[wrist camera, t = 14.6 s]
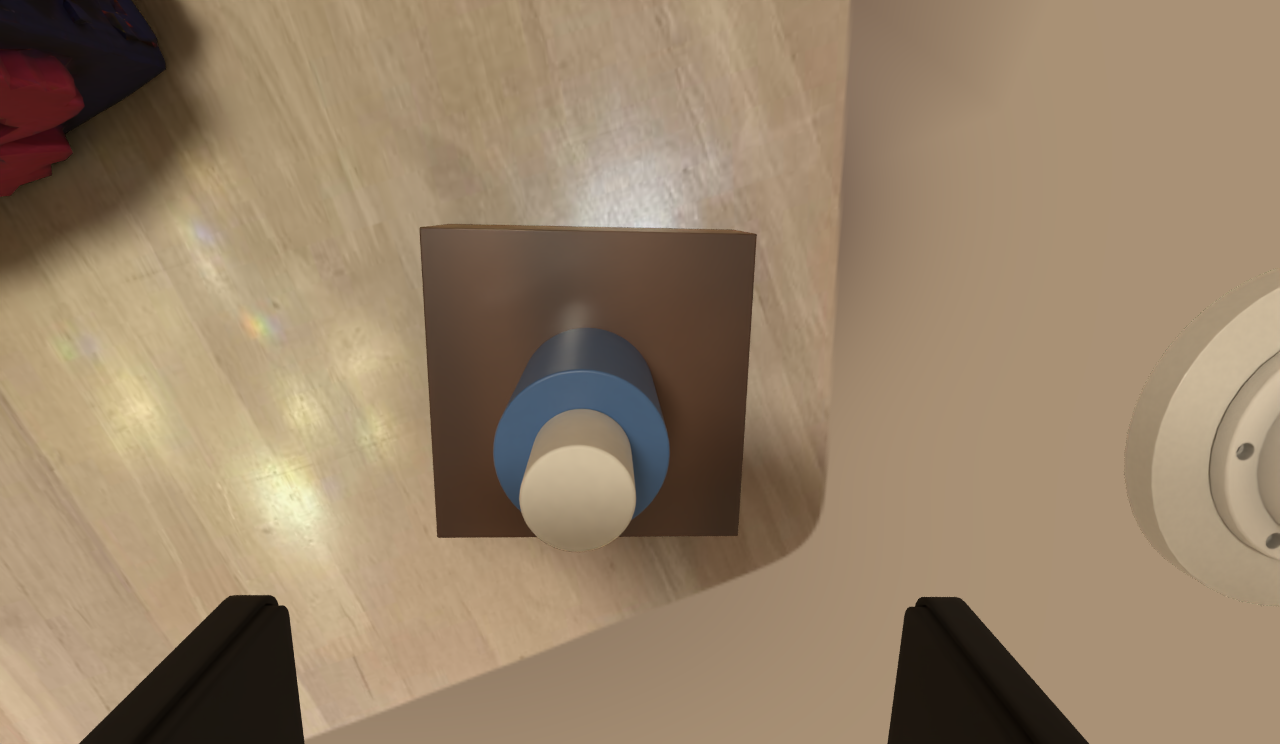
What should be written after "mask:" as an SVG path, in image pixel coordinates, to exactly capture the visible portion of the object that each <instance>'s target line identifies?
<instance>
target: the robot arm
mask: <svg viewBox="0 0 1280 744" xmlns="http://www.w3.org/2000/svg"><path fill="white" fill-rule="evenodd" d="M1210 482H1211V491H1212V496H1213V499H1214V502H1215V505H1216V507H1217V510H1218V513H1219V515H1220V516H1221V518H1222V519H1223V521H1224V522H1225V524H1226V525H1227V527H1228V529H1229V530H1230V531H1231V532H1233V533H1234V534H1235V535H1236V536H1237V537H1238V538H1239V539H1240V540H1241V541H1242V542H1244V543H1245V544H1247V545H1249V546H1251V547H1252V548H1254V549H1256V550H1258V551H1259V552H1261V553H1263V554H1265V555H1267V556H1269V557H1272V558H1274V559H1276V560H1279V561H1280V352H1278V353H1277V354H1276V355H1275V356H1273V357H1272V358H1271V359H1269V360H1268V361H1267V362H1266V363H1264V364H1263V365H1262V366H1261V367H1260V368H1259V369H1258V370H1257V371H1256V372H1255V373H1254V374H1253V375H1252V377H1251V378H1250V379H1249V380H1248V381H1247V382H1246V383H1245V384H1244V385H1243V387H1242V388H1241V389H1240V391H1239V392H1238V394H1237V395H1236V397H1235V398H1234V399H1233V401H1232V402H1231V404H1230V405H1229V407H1228V409H1227V411H1226V413H1225V415H1224V417H1223V419H1222V421H1221V423H1220V426H1219V428H1218V431H1217V434H1216V438H1215V441H1214V445H1213V448H1212V454H1211V464H1210ZM79 744H304V735H303V727H302V718H301V710H300V702H299V693H298V685H297V676H296V668H295V659H294V651H293V642H292V634H291V626H290V617H289V612H288V609H287V608H286V607H285V606H278V602H277V600H276V599H275V597H273V596H271V595H233V596H229V597H228V598H226V599H225V600H224V601H223V602H222V603H221V604H220V605H219V606H218V607H217V608H216V609H215V610H214V611H213V612H212V613H211V614H210V615H209V616H208V617H207V618H206V619H205V620H204V621H203V622H202V623H201V624H200V625H199V626H197V627H196V628H195V629H194V630H193V631H192V632H191V633H190V634H189V635H188V636H187V637H186V638H185V639H184V640H183V641H182V642H181V643H180V644H179V645H178V646H177V647H176V648H175V649H174V650H173V651H172V652H171V653H170V654H169V655H168V656H167V657H166V658H165V659H164V660H163V661H162V662H161V663H160V664H159V665H158V666H157V667H156V668H155V669H154V670H153V671H152V672H151V673H150V674H149V675H148V676H147V677H146V678H145V679H144V680H143V681H142V682H141V683H140V684H139V685H138V686H137V687H136V688H135V689H134V690H133V691H132V692H131V693H130V694H129V695H128V696H127V697H126V698H125V699H124V700H123V701H122V702H121V703H120V704H119V705H118V706H117V707H116V708H115V709H114V710H113V711H112V712H111V713H110V714H109V715H108V716H107V717H106V718H105V719H104V720H103V721H101V722H100V723H99V724H98V725H97V726H96V727H95V728H94V729H93V730H92V731H91V732H90V733H89V734H88V735H87V736H86V737H85V738H84V739H83V740H82V741H81V742H80V743H79ZM888 744H1089V743H1088V742H1087V741H1086V740H1085V739H1084V737H1083V736H1082V735H1081V734H1080V733H1079V732H1078V731H1077V729H1075V727H1074V726H1073V725H1072V724H1071V723H1070V721H1069V720H1068V719H1067V718H1066V717H1065V716H1064V715H1063V714H1062V712H1061V711H1060V710H1059V709H1058V708H1057V707H1056V705H1055V704H1054V703H1053V702H1052V701H1051V700H1050V699H1049V698H1048V696H1047V695H1046V694H1045V693H1044V692H1043V691H1042V690H1041V688H1040V687H1039V686H1038V685H1037V684H1036V683H1035V681H1034V680H1033V679H1032V678H1031V677H1030V676H1029V675H1028V674H1027V672H1026V671H1025V670H1024V669H1023V668H1022V667H1021V666H1020V665H1019V663H1018V662H1017V661H1016V660H1015V659H1014V658H1013V656H1012V655H1011V654H1010V653H1009V652H1008V651H1007V650H1006V648H1005V647H1004V646H1003V645H1002V644H1001V643H1000V642H999V640H998V639H997V638H996V637H995V636H994V635H993V634H992V632H991V631H990V630H989V629H988V628H987V627H986V626H985V624H984V623H983V622H982V621H981V620H980V619H979V618H978V616H977V615H976V614H975V613H974V612H973V611H972V610H971V609H970V607H969V606H968V605H967V604H966V603H965V602H964V601H963V600H962V599H960V598H957V597H921V598H919V599H918V601H917V602H916V605H915V607H909V608H907V610H906V612H905V616H904V624H903V631H902V639H901V646H900V654H899V661H898V669H897V676H896V684H895V692H894V700H893V707H892V714H891V722H890V729H889V737H888Z"/></svg>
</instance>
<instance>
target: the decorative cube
mask: <svg viewBox="0 0 1280 744" xmlns="http://www.w3.org/2000/svg"><path fill="white" fill-rule="evenodd" d="M165 69H166V65H165V60H164V58H163V55H162V53H161V51H160V49H159V47H158V44H157V37H156V36H155V34H154V33H153V31H152V30H151V28H150V27H149V25H148V24H147V22H146V20H145V19H144V18H143V16H142V15H141V13H140V12H139V10H138V9H137V8H136V6H135V5H134V3H133V2H132V1H131V0H0V197H2V196H11V195H12V194H13V192H14V191H15V190H16V189H17V188H18V187H19V186H20V185H23V184H26V183H29V182H32V181H35V180H38V179H41V178H45V177H48V176H51V175H52V169H51V164H52V163H56V162H60V161H64V160H66V159H67V158H68V157H69V156H70V155H71V154H72V153H73V152H72V150H71V147H70V145H69V143H68V141H67V139H66V136H65V133H67V132H69V131H70V130H72V129H74V128H76V127H77V126H79V125H81V124H82V123H84V122H86V121H87V120H89V119H90V118H92V117H94V116H95V115H97V114H99V113H100V112H102V111H103V110H105V109H107V108H109V107H111V106H112V105H114V104H116V103H118V102H119V101H121V100H122V99H124V98H126V97H127V96H129V95H130V94H132V93H133V92H135V91H136V90H138V89H139V88H140V87H142V86H143V85H145V84H146V83H147V82H149V81H150V80H152V79H153V78H154V77H156V76H157V75H158V74H160V73H161V72H162V71H164V70H165Z"/></svg>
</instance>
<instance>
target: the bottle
mask: <svg viewBox="0 0 1280 744" xmlns="http://www.w3.org/2000/svg"><path fill="white" fill-rule="evenodd" d="M493 457H494V466H495V470H496V474H497V477H498V479H499V482H500V484H501V486H502V488H503V490H504V492H505V493H506V495H507V497H508V498H509V499H510V500H511V502H512V503H513V504H514V505H515V506H516V507H517V508H518V509H519V510H520V511H521V513H522V515H523V518H524V520H525V522H526V524H527V525H528V527H529V528H530V530H531V531H532V532H533V533H534V534H535V535H536V536H537V537H538V538H539V539H541V540H542V541H543V542H545V543H546V544H548V545H550V546H552V547H554V548H557V549H560V550H564V551H569V552H586V551H591V550H595V549H598V548H601V547H603V546H605V545H607V544H609V543H610V542H612V541H613V540H615V539H616V538H617V537H618V536H619V535H620V534H621V533H622V532H623V531H624V530H625V529H626V527H627V526H628V524H629V523H630V521H631V520H632V519H634V518H635V517H636V516H637V515H639V514H640V513H641V512H642V511H644V509H645V508H646V507H647V506H648V505H649V504H650V503H651V502H652V501H653V499H654V498H655V497H656V495H657V494H658V492H659V490H660V488H661V487H662V485H663V482H664V479H665V477H666V474H667V470H668V466H669V457H670V447H669V438H668V433H667V429H666V426H665V422H664V418H663V415H662V411H661V408H660V404H659V400H658V397H657V393H656V390H655V386H654V382H653V379H652V375H651V372H650V369H649V367H648V365H647V363H646V361H645V359H644V358H643V356H642V355H641V354H640V352H639V351H638V350H637V349H636V348H635V347H634V346H633V345H632V344H631V343H629V342H628V341H627V340H625V339H624V338H622V337H620V336H618V335H616V334H614V333H612V332H609V331H606V330H602V329H597V328H578V329H572V330H568V331H565V332H562V333H560V334H558V335H556V336H554V337H552V338H550V339H549V340H547V341H546V342H545V343H544V344H542V345H541V346H540V347H539V348H538V349H537V350H536V352H535V353H534V354H533V355H532V357H531V358H530V360H529V362H528V364H527V366H526V368H525V370H524V372H523V374H522V376H521V378H520V380H519V382H518V384H517V386H516V388H515V390H514V392H513V394H512V396H511V398H510V400H509V402H508V404H507V406H506V409H505V411H504V413H503V415H502V417H501V419H500V421H499V423H498V426H497V429H496V432H495V438H494V445H493Z"/></svg>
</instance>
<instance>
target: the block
mask: <svg viewBox="0 0 1280 744" xmlns="http://www.w3.org/2000/svg"><path fill="white" fill-rule="evenodd" d="M420 245H421V262H422V279H423V297H424V314H425V331H426V349H427V366H428V383H429V401H430V418H431V435H432V453H433V470H434V487H435V504H436V522H437V537H438V538H455V537H537V536H536V535H535V534H534V533H533V532H532V531H531V530H530V528H529V527H528V525H527V524H526V522H525V520H524V518H523V515H522V513H521V511H520V510H519V509H518V508H517V507H516V506H515V505H514V504H513V503H512V502H511V500H510V499H509V498H508V497H507V495H506V493H505V492H504V490H503V488H502V486H501V484H500V482H499V479H498V477H497V474H496V470H495V466H494V457H493V445H494V438H495V432H496V429H497V426H498V423H499V421H500V419H501V417H502V415H503V413H504V411H505V409H506V406H507V404H508V402H509V400H510V398H511V396H512V394H513V392H514V390H515V388H516V386H517V384H518V382H519V380H520V378H521V376H522V374H523V372H524V370H525V368H526V366H527V364H528V362H529V360H530V358H531V357H532V355H533V354H534V353H535V352H536V350H537V349H538V348H539V347H540V346H541V345H542V344H544V343H545V342H546V341H547V340H549V339H550V338H552V337H554V336H556V335H558V334H560V333H562V332H565V331H568V330H572V329H578V328H597V329H602V330H606V331H609V332H612V333H614V334H616V335H618V336H620V337H622V338H624V339H625V340H627V341H628V342H629V343H631V344H632V345H633V346H634V347H635V348H636V349H637V350H638V351H639V352H640V354H641V355H642V356H643V358H644V359H645V361H646V363H647V365H648V367H649V369H650V372H651V375H652V379H653V382H654V386H655V390H656V393H657V397H658V400H659V404H660V408H661V411H662V415H663V418H664V422H665V426H666V429H667V433H668V438H669V447H670V457H669V466H668V470H667V474H666V477H665V479H664V482H663V485H662V487H661V488H660V490H659V492H658V494H657V495H656V497H655V498H654V499H653V501H652V502H651V503H650V504H649V505H648V506H647V507H646V508H645V509H644V511H642V512H641V513H640V514H639V515H637V516H636V517H635V518H634V519H632V520H631V521H630V523H629V524H628V526H627V527H626V529H625V530H624V531H623V532H622V533H621V534H620V535H619V536H618V537H631V536H738V525H739V509H740V493H741V477H742V460H743V444H744V428H745V412H746V396H747V380H748V364H749V348H750V332H751V316H752V300H753V283H754V267H755V251H756V234H753V233H748V232H742V231H737V230H722V229H672V228H622V227H572V226H522V225H472V224H445V225H436V226H427V227H420Z"/></svg>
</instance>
